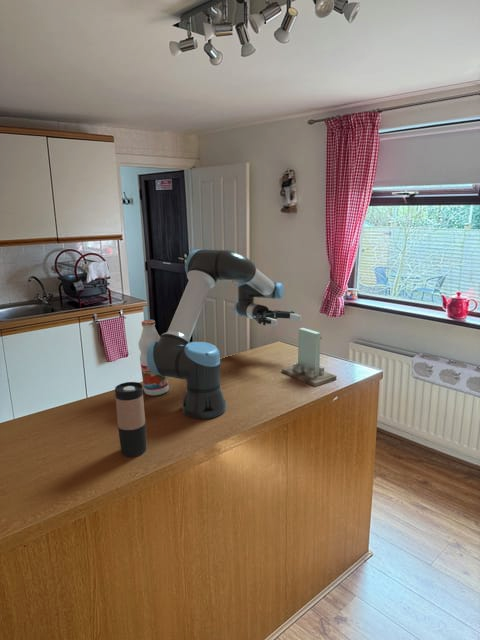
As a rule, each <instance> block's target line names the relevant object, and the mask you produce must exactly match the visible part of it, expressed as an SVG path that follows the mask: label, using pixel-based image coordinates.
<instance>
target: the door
mask: <svg viewBox="0 0 480 640" xmlns="http://www.w3.org/2000/svg"><path fill="white" fill-rule="evenodd" d="M321 335H322V334H321V332H318V331H315V330H312V329H309V328H305V327H301V328H298V338H297V339H298V341H297V343H298V345H297V352H298V353H297V355H298V356H297V364H300V365H302V366H303V367H302V371H303V372H305V368H310V369H313V370H315V376H318V375H319V367H320V366H321V365H320V363H321V362H320V361H321V340H322V336H321Z"/></svg>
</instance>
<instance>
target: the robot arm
mask: <svg viewBox="0 0 480 640" xmlns="http://www.w3.org/2000/svg"><path fill="white" fill-rule="evenodd" d="M184 270H185V274H186V277H187V278H186V279H187V280H188V282H187V284H186V286H185V289H184V291H183V294H182V296H181V298H180V301H179V304H178V306H177V308H176V310H175V313H174V315H173V317H172V320H171V322H170V325H169V327H168V329H167V331H166V332H164V333H162V334H161V335H160V340H159V342H158V341H155V342H153V343H151V344H150V346H149V348H148V351H147V365H148V367H149V369H150V371H151V372H152V373H154V374H157V375H160V376H167V377H169V378H173V379H180V380H185V381H186V382H185V383H186V391H185V395H184V398H183V401H182V412H183V414H184V415H185V416H187V417H189V418H192V419H197V420H198V419H199V420H206V419H207V420H208V419H214V418H217V417H219V416H221V415H223V414H225V412H226V410H227V402H226V399H225V397H224V393H223V391H222V388H221V357H220V350H219V348H218V347H217V346H216V345H214V344H212V343H209V342H205V341H190V340H191V337H192V335H193V333H194V329H195V327H196V325H197V322H198V319H199V317H200V315H201V313H202V312H201V311H202V309H203V306H204V304H205V301H206V298H207V295H208V293H209V291H210V289H213V288H214V287H216V284H217V282H218V280H219V281H234V282H235V281H236V282H237V290H238V291H237V293H238V294H237V297H238V299H237V301H235V302H234V306H233V311H234V312H235V314H237V315H239V316H240V317H243V318H248V319H252V320H253V321H256V322H257V323H258V324H259V325H261V324H262V326H266V325H270V326H273V327H276V328H277V327H278V325H279V323H278V319H288V320H291V321H295V322H298V323H301V322H302V315H301V314H300V315H299V314H297V313H295V311H293V310H291V311H287V310H277V309H274V310H271V309H269V308H268V307H267V306H266V305H263V304H260V303H259V304H258V303H256V302H254V300H255V298H260V299H261V298H262V299H272V300H280V299H282V298H283V297H284V294H285V293H284V291H285V286H284V285H283V283H281V282H274V281H272V279H270V278H269V277H267V276H266V275H265V274H264V273H262V272H261V271H260V270H259V269H258V268H257V267H256V264H255V263H254V262H253V261H252V260H251V259H249V258H248V257H246V256H244V255H242V254H241V253H239V252H237V251H233V250H229V249H205V248H201V249H200V248H199V249H194V250H192V251H191V252H190V253H189V254H188V255H187V257H186V259H185V266H184Z"/></svg>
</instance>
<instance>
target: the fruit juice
mask: <svg viewBox="0 0 480 640" xmlns="http://www.w3.org/2000/svg"><path fill="white" fill-rule="evenodd" d="M155 325H156V321H155V320H154V319H145V320H142V321H141V327H142V331H141V335H140V338H139V341H138V349H139V351H140V356H139V362H140V369H141V376H142V377H141V378H142V387H143V391H144V392H143V393H144V394H146V395H148V396H159V395H163V394H165V393H167V392H168V391H169V386H170V385H169V380H168V377H167V376H160V375H157V374H154V373H152V372H151V371H150V369H149V367H148V365H147V351H148V348H149V346H150V344H151V343H153V342H155V341H158V342H159V340H160V337H161V335H159V333H158V330H157V329H156V326H155Z"/></svg>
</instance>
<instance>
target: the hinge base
mask: <svg viewBox="0 0 480 640" xmlns="http://www.w3.org/2000/svg"><path fill="white" fill-rule="evenodd" d="M292 364H293V365H289V366H287V367H283V368H281V373H283V374H285V375H288V376H289V377H292V378H294V379H296V380H299V381H301V382H304V383H306V384H308V385H311V386H314V387H319V386H322V385H324V384H327V383H330V382H333V381H335V380H337V375H335V374H332V373H330V372H327V371H325V367H324V366H321V365H320V367H319V375H318V376H315V370H313V369H310V368H305V372H303V371H302V367H303V366H302V365H300V364H298V362H293V363H292Z"/></svg>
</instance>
